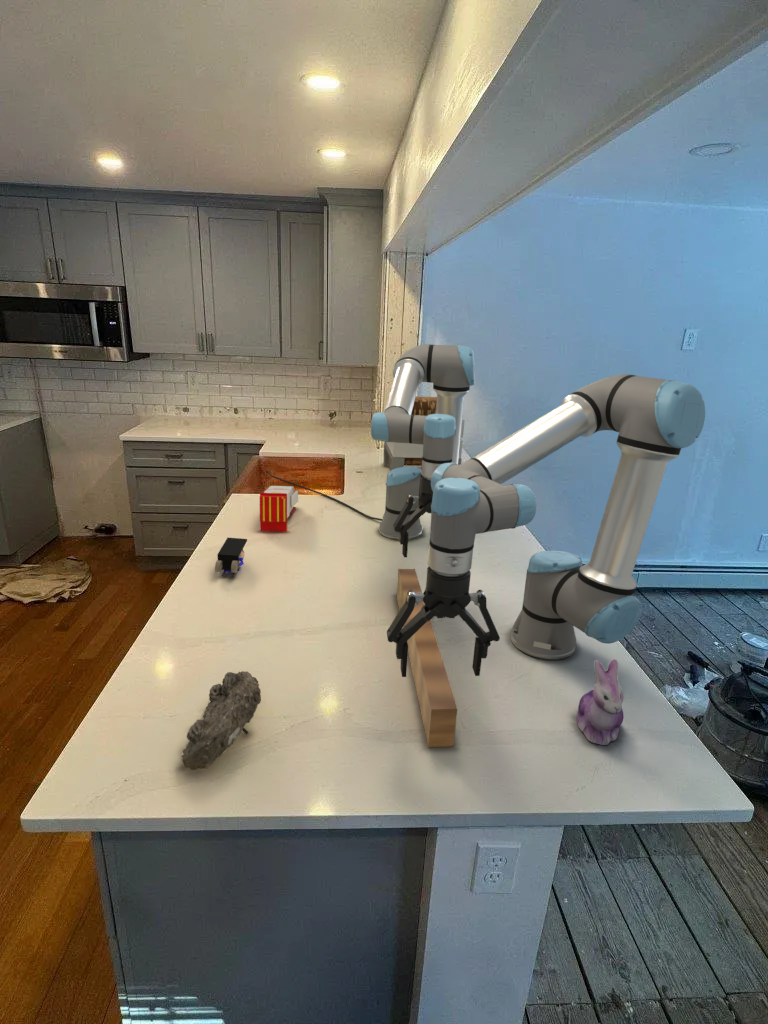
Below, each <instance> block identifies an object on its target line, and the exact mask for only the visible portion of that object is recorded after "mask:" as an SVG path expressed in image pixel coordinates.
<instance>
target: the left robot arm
mask: <svg viewBox="0 0 768 1024" xmlns="http://www.w3.org/2000/svg"><path fill="white" fill-rule="evenodd" d="M392 376H393V380H392V383H391V387H390V389H389V393H388V397H387V399H386V402H385V406H384V409H383V411H381V412H375V413H373V414H372V418H371V423H370V435H371V438H372V440H374V441H378V442H383V443H384V442H396V443H410V444H422V445H423V457H422V466H421V468H420V467H419V466H418V467H417V466H404V467H400V468H396V469H393V470H391V471H390V470H389V471H388V473H387V475H386V482H385V504H384V505H385V507H384V508H385V509H384V513H383V515H382V518H380V517H373V516H370V515H367V514H366V513H364V512H362V511H360V510H358V509H357V508H354V507H352V506H351V505H350V504H347V503H345V502H343V501H341V500H339V499H337V498H334V497H332V496H330V495H327V494H326V493H322V492H319V491H318V490H314V489H312V488H309V487H306V486H303V485H300V484H297V483H294V482H291V481H289V480H286V479H283V478H280V477H277V476H275V475H273V474H272V473H270V470H266V472H265V473H266V474H268V476H270V477H271V478H274V479H277V480H279V481H281V482H284V483H287V484H290V485H291V486H295V487H298V488H301V489H304V490H307V491H310V492H313V493H316V494H318V495H321V496H323V497H326V498H327V499H330V500H333V501H335V502H337V503H339V504H341V505H343V506H345V507H347V508H349V509H351V510H352V511H354V512H356V513H358V514H360V515H362V516H364V517H365V518H368V519H371V520H374V521H379V527H378V533H379V534H380V535H381V536H382V537H385V538H387V539H389V540H395V541H398V542H399V544H400V545H401V546H402V549H401V550H402V551H401V554H402V556H403V558H404V559H405V558H408V551H409V550H408V548H409V541H410V540H415V539H418V538H420V537H421V536H422V535H423V525H422V524H421V517H422V516H424V515H425V513H427V514H431V505H432V499H433V491H432V487H431V478H432V475H433V473H434V471H435V470H436V469H437V468H438V467H439V466H440V465H442V464H444V463H453V464H454V463H455V464H458V458H459V447H460V439H461V438H460V436H461V425H462V419H463V414H464V413H463V412H464V402H465V401H464V400H465V396H466V395H467V394H468V393H469V392H470V388H471V387H472V386H474V385H475V383H476V381H475V379H476V377H475V353H474V350H473V348H472V347H470V346H464V345H455V344H454V345H452V344H430V343H423V344H418V345H415V346H413V347H411V348H409V349H408V350H406V351H405V352H404V353H402V354H401V356H399V357H398V358H397V360H396V362H395V364H394V366H393V369H392ZM421 383H431V384H432V390H433V391H434V392H435V393H436V397H437V405H436V414H431V415H428V416H420V415H411V414H412V409H413V405H414V401H415V397H417V392H418V388H419V386H420V384H421Z"/></svg>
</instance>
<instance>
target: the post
mask: <svg viewBox="0 0 768 1024" xmlns="http://www.w3.org/2000/svg"><path fill="white" fill-rule="evenodd" d="M409 590H413V591H414V593H421V594H423V591H422V587H421V584H420V581H419V577H418V574H417V571H416V568H397V580H396V600H397V605H398V609H399V611H400V609H401V608H402V606H403V604H404V603H405V601H406V597H407V592H408V591H409ZM424 605H425V604H424V602H423V601H420V602H419V604H418V605H417V606H414V609H413V611H412V613H411V615H410V616H409V618H408V619H407V621H406V623H405V624H404V626H405V625H406V624H407V623H408V622H409V621H410V620H411V619H412V618H413V617H414V616H415V615H416V614H417V613H418V612H420V610H421V608H422V607H423V606H424ZM404 626H403V627H404ZM403 627H402V628H403ZM407 643H408V657H409V663H410V667H411V671H412V676H413V681H414V686H415V692H416V696H417V700H418V705H419V710H420V715H421V720H422V724H423V729H424V734H425V739H426V743H427V747H428V748H445V747H446V748H447V747H454V745H455V735H456V725H457V715H458V707H457V703H456V700H455V696H454V693H453V690H452V686H451V683H450V680H449V677H448V674H447V670H446V667H445V664H444V660H443V657H442V653H441V650H440V647H439V643H438V640H437V636H436V634H435V630H434V627H433V623H432V619H431V620H430V621H427V622H426V623H425V624H424V625H423V626H422V627H421V628H420V629H419V630H418V631H417V632H416V633H415V634H414V635H413V636H412V637H411V638H410V639H409V640H407Z"/></svg>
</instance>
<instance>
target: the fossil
mask: <svg viewBox="0 0 768 1024" xmlns="http://www.w3.org/2000/svg"><path fill="white" fill-rule="evenodd" d="M261 693H262V691H261V688H260V684H259V680H258V679H257V677H256V676H253V675H252V674H251V673H250V672H249V671H243V670H242V671H238V672H233V671H228V672H226V673H225V674H224V677H223V678H222V684H221V683H217V684H213V685H212V686H211V688H210V689H209V693H208V697H209V699H208V700H209V702H208V703H207V706H206V707H205V710H204V712H203V714H202V719H196V721H195V722H194V723H193V724H192V725H191V726H190V727H189V730H188V732H187V734H186V739H187V740H188V743H187V744H186V746H185V748H183V750H182V755H181V758H182V759H181V761H182V766H183V768H188V769H189V770H190V771H194V770H198V769H204V768H205V769H209V768H210V767H211V766H212V765H213V764H214V763H215V762H216V761H217V760H218V759H219V758H221V756H222V755H223V754H224V753H225V752H226V751H227V750H228V749H229V748H230V747H231V746H232V745H234V743H235V742H236V740H237V737H238V736H240V734H241V733H242V732H243V733H244V734H245V735H248V734H249V731H248V730H247V729H246V728H245V727H246V724H248V723H250V722H251V720H252V719H253V717H254V716H255V713H256V711H257V710H258V709H257V708H258V706H259V704H261V702H262V695H261Z"/></svg>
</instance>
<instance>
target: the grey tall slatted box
mask: <svg viewBox="0 0 768 1024" xmlns="http://www.w3.org/2000/svg"><path fill="white" fill-rule="evenodd" d="M436 405H437V396H417V395H416V397H415V401H414V405H413V409H412V414H411V415H420V416H428V415H431V414H436ZM464 429H465V419H464V418H462V425H461V436H460V447H459V458H458V465H460V464H462V463H463V462H462V461H463V460H462V453H463V442H464V441H463V440H462V439H463V438H464V431H465V430H464ZM422 457H423V445H422V444H410V443H396V442H384V441H383V466H384V467H388V468H389V472H390V471H391V470H393V469H396V468H400V467H405V466H406V467H417V466H418V467H422Z"/></svg>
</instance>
